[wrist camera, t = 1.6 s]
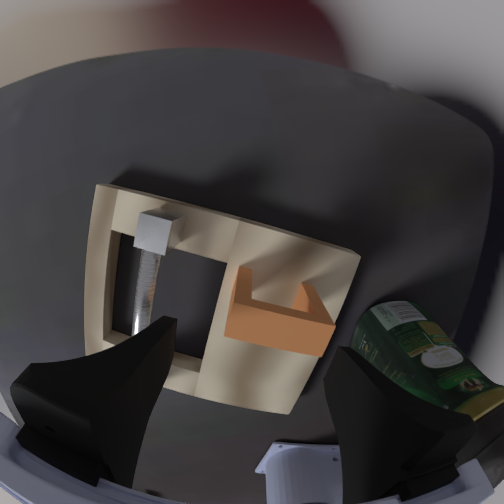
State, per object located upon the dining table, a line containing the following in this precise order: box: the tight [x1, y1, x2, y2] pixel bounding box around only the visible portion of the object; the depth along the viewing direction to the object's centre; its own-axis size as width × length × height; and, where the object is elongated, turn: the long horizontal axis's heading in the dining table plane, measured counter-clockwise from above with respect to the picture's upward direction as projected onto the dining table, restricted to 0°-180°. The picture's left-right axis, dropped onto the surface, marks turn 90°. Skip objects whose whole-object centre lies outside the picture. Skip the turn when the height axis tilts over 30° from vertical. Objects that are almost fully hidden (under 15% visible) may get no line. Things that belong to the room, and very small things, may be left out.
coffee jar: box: [349, 301, 504, 489], centre depth 14 cm, size 10×8×19 cm
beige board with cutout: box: [84, 184, 361, 414], centre depth 21 cm, size 20×16×2 cm
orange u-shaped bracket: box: [224, 266, 336, 357], centre depth 16 cm, size 5×2×6 cm, turn 74°
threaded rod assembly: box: [132, 207, 187, 336], centre depth 18 cm, size 2×15×4 cm, turn 164°
